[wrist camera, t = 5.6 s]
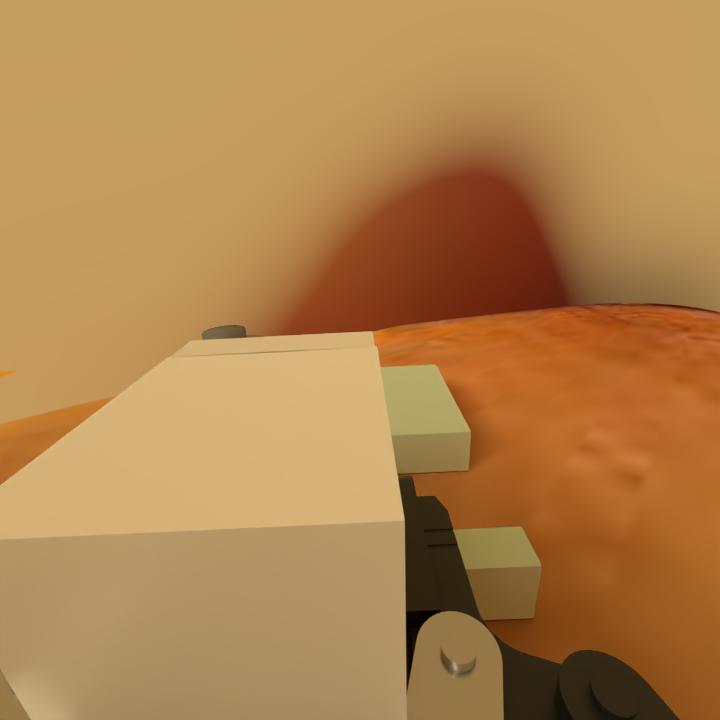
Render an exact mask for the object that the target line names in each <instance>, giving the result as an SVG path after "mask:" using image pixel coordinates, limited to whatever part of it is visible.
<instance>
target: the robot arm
mask: <svg viewBox="0 0 720 720" xmlns="http://www.w3.org/2000/svg"><path fill="white" fill-rule="evenodd" d="M398 481H399V488H400V494H401V500H402V507H403V513H404V519H405V594H406V694H407V720H679V719H678V717H677V716H676V715H675V714H674V713H673V712H672V710H671V709H670V708H669V707H668V706H667V705H666V704H665V702H664V701H663V700H662V699H661V698H660V697H659V696H658V694H657V693H656V692H655V691H654V690H653V689H652V687H651V686H650V685H649V684H648V683H647V682H646V681H645V680H644V679H643V678H642V677H641V676H640V675H639V674H638V673H637V672H636V671H635V670H633V669H632V668H631V667H629V666H628V665H627V664H625V663H624V662H622V661H620V660H618V659H617V658H615V657H613V656H610V655H608V654H606V653H602V652H598V651H592V650H581V651H578V652H574V653H573V654H571V655H569V656H568V657H567V658H566V659H565V660H564V662H563V664H562V665H561V664H558V663H555V662H551V661H548V660H545V659H541V658H538V657H535V656H531V655H528V654H525V653H522V652H520V651H517V650H515V649H513V648H511V647H510V646H508V645H507V644H505V643H504V642H502V641H501V640H500V639H499V638H497V637H496V636H495V635H494V634H493V633H492V632H491V631H490V629H489V628H488V627H487V625H486V624H485V623H484V621H483V619H482V617H481V616H480V613H479V611H478V608H477V605H476V602H475V598H474V595H473V592H472V589H471V585H470V582H469V579H468V576H467V572H466V569H465V566H464V563H463V559H462V556H461V553H460V550H459V548H458V543H457V540H456V537H455V533H454V532H453V527H452V524H451V521H450V517H449V514H448V511H447V509H446V508H445V507H444V506H443V505H442V504H441V503H440V502H439V500H438V499H437V498H436V497H435V496H421V497H417V496H416V492H415V487H414V482H413V478H412V476H400V477H398ZM0 720H31V719H30V718H29V716H28V714H27V713H26V711H25V709H24V708H23V706H22V704H21V703H20V701H19V699H18V698H17V696H16V694H15V693H14V691H13V689H12V688H11V686H10V684H9V683H8V681H7V679H6V678H5V676H4V674H3V673H2V671H1V669H0Z"/></svg>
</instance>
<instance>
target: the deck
mask: <svg viewBox="0 0 720 720" xmlns="http://www.w3.org/2000/svg"><path fill="white" fill-rule="evenodd" d="M202 337H203V340H211V339H231V338H251V337H265V336H257V335H246V330H245V327H243V326H238V325H228V326H220V327H215V328H211V329H208V330H206V331H204V332H203V333H202ZM380 368H381V375H382V381H383V387H384V394H385V400H386V406H387V412H388V419H389V425H390V431H391V437H392V444H393V450H394V456H395V463H396V469H397V474H407V473H428V472H448V471H469V460H470V443H471V430H470V428H469V426H468V425H467V423H466V421H465V419H464V417H463V415H462V413H461V411H460V409H459V408H458V406H457V404H456V402H455V400H454V398H453V396H452V394H451V392H450V391H449V389H448V387H447V385H446V383H445V381H444V379H443V377H442V375H441V374H440V372H439V370H438V368H437V366H436V364H434V365H415V366H395V367H380ZM453 532H454V533H455V537H456V540H457V543H458V548H459V550H460V553H461V556H462V559H463V563H464V566H465V569H466V572H467V576H468V579H469V582H470V585H471V589H472V592H473V595H474V598H475V602H476V605H477V608H478V611H479V613H480V616H481V617H482V619H483V620H502V619H525V618H534V613H535V607H536V601H537V595H538V589H539V583H540V577H541V570H542V564H541V562H540V561H539V559H538V557H537V555H536V553H535V551H534V549H533V547H532V545H531V544H530V542H529V540H528V538H527V536H526V534H525V532H524V530H523V528H522V527H521V526H518V527H497V528H475V529H454V530H453Z"/></svg>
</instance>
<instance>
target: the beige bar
mask: <svg viewBox="0 0 720 720" xmlns="http://www.w3.org/2000/svg"><path fill="white" fill-rule="evenodd" d="M0 669H1V671H2V673H3V674H4V676H5V678H6V679H7V681H8V683H9V684H10V686H11V688H12V689H13V691H14V693H15V694H16V696H17V698H18V699H19V701H20V703H21V704H22V706H23V708H24V709H25V711H26V713H27V714H28V716H29V718H30V719H31V720H407V694H406V594H405V519H404V513H403V507H402V500H401V494H400V488H399V481H398V475H397V469H396V463H395V456H394V450H393V444H392V437H391V431H390V425H389V419H388V412H387V406H386V400H385V394H384V387H383V381H382V375H381V368H380V362H379V356H378V350H377V346H375V345H374V338H373V331H370V332H349V333H331V334H330V333H329V334H310V335H290V336H270V337H251V338H231V339H211V340H193V341H190V342H189V343H188V344H186V345H185V346H184V347H182V348H181V349H180V350H179V351H177V352H176V353H175V354H173V355H172V356H169V357H167V358H166V359H165V360H163V361H162V362H161V363H159V364H158V365H157V366H155V367H154V368H153V369H152V370H150V371H149V372H148V373H146V374H145V375H144V376H142V377H141V378H140V379H138V380H137V381H136V382H135V383H133V384H132V385H131V386H129V387H128V388H127V389H125V390H124V391H123V392H121V393H120V394H119V395H118V396H116V397H115V398H114V399H112V400H111V401H110V402H108V403H107V404H106V405H104V406H103V407H102V408H101V409H99V410H98V411H97V412H95V413H94V414H93V415H91V416H90V417H89V418H87V419H86V420H85V421H84V422H82V423H81V424H80V425H78V426H77V427H76V428H74V429H73V430H72V431H70V432H69V433H68V434H67V435H65V436H64V437H63V438H61V439H60V440H59V441H57V442H56V443H55V444H53V445H52V446H51V447H49V448H48V449H47V450H46V451H44V452H43V453H42V454H40V455H39V456H38V457H36V458H35V459H34V460H32V461H31V462H30V463H29V464H27V465H26V466H25V467H23V468H22V469H21V470H19V471H18V472H17V473H15V474H14V475H13V476H12V477H10V478H9V479H8V480H6V481H5V482H4V483H2V484H1V485H0Z"/></svg>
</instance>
